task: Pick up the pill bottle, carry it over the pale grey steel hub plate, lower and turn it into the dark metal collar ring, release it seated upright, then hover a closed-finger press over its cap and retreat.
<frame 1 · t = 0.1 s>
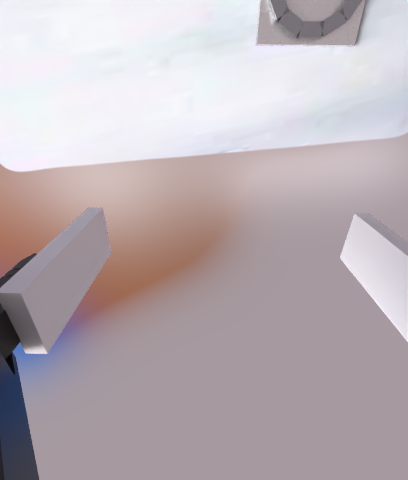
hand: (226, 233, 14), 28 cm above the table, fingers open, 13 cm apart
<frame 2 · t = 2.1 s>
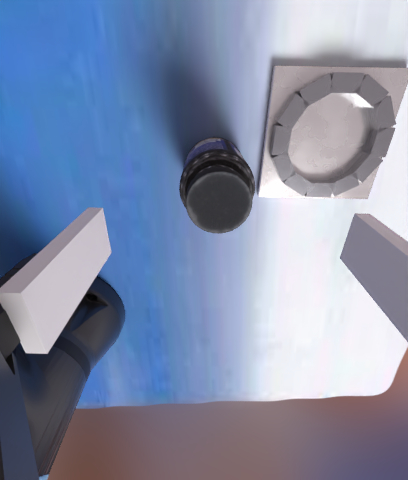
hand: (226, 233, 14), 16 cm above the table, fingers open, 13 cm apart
pill bottle: (214, 166, 27), on the table
hub plate: (323, 138, 26), on the table
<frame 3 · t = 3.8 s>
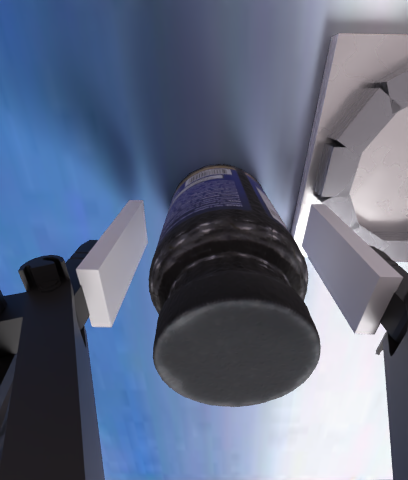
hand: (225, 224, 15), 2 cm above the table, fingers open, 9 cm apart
pill bottle: (218, 208, 17), on the table
hub plate: (405, 166, 15), on the table
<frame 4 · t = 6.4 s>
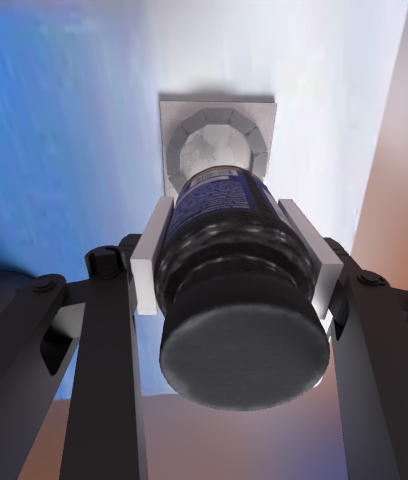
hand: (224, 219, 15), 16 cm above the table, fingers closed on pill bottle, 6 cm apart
pill bottle: (223, 209, 17), point 15 cm above the table, touching gripper
hub plate: (216, 160, 30), on the table
when the fingers open (4 cm above the table, at t = 8.6 s): pill bottle drops 1 cm, resting on hub plate.
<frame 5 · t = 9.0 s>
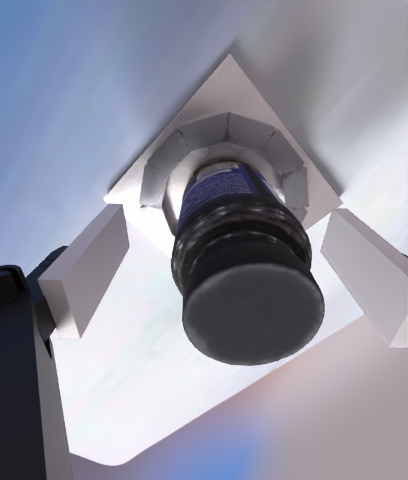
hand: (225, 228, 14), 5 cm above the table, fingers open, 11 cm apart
pill bottle: (226, 201, 18), point 1 cm above the table, touching hub plate
hub plate: (222, 197, 19), on the table
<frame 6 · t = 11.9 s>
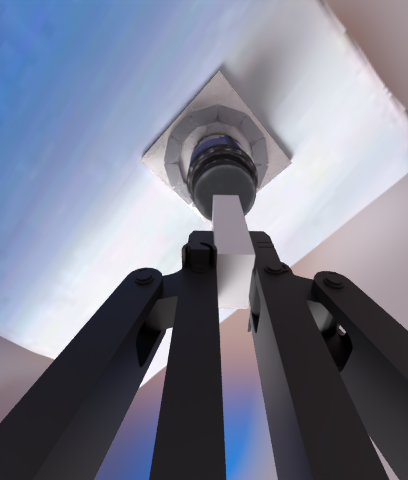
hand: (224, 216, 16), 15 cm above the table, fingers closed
pill bottle: (218, 161, 29), point 1 cm above the table, touching hub plate
hub plate: (215, 159, 29), on the table
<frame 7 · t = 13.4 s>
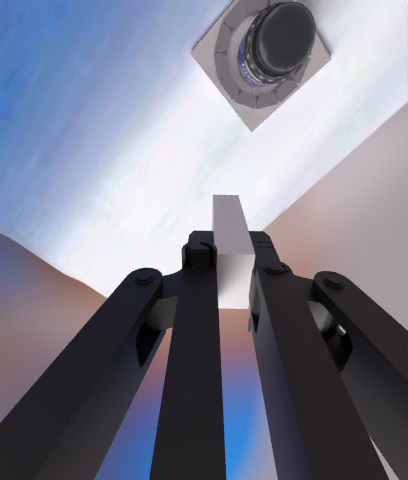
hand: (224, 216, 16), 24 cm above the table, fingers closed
pill bottle: (262, 57, 31), point 1 cm above the table, touching hub plate
hub plate: (259, 56, 31), on the table
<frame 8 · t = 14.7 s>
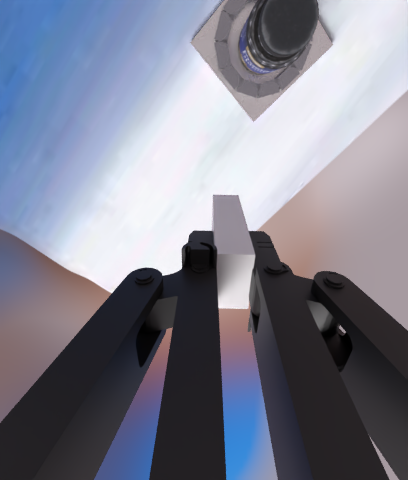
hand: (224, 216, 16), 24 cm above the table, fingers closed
pill bottle: (263, 44, 31), point 1 cm above the table, touching hub plate
hub plate: (260, 44, 31), on the table
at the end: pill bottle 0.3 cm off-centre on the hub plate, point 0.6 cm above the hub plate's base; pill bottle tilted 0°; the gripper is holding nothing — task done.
